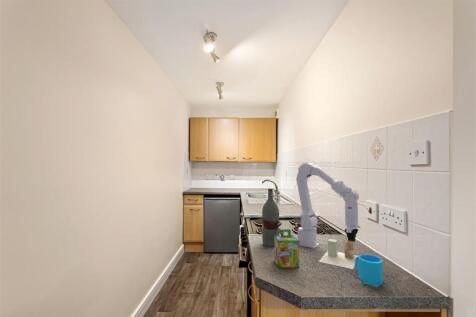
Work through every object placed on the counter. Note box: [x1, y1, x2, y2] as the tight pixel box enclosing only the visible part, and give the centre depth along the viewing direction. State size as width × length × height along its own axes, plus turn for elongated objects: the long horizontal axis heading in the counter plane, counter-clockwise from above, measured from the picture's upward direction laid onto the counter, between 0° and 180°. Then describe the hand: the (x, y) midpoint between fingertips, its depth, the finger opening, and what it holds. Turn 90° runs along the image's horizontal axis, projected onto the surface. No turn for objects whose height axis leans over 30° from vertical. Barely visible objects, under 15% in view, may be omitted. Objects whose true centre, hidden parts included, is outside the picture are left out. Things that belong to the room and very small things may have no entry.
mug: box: [355, 254, 384, 287], centre depth 95 cm, size 12×8×8 cm
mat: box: [318, 250, 359, 270], centre depth 112 cm, size 14×17×1 cm
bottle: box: [261, 188, 280, 248], centre depth 133 cm, size 9×9×30 cm
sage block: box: [327, 238, 339, 257], centre depth 116 cm, size 4×4×7 cm
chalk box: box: [273, 228, 300, 269], centre depth 108 cm, size 9×9×15 cm
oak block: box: [344, 239, 355, 259], centre depth 114 cm, size 4×4×7 cm
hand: (351, 244), depth 118 cm, fingers closed
